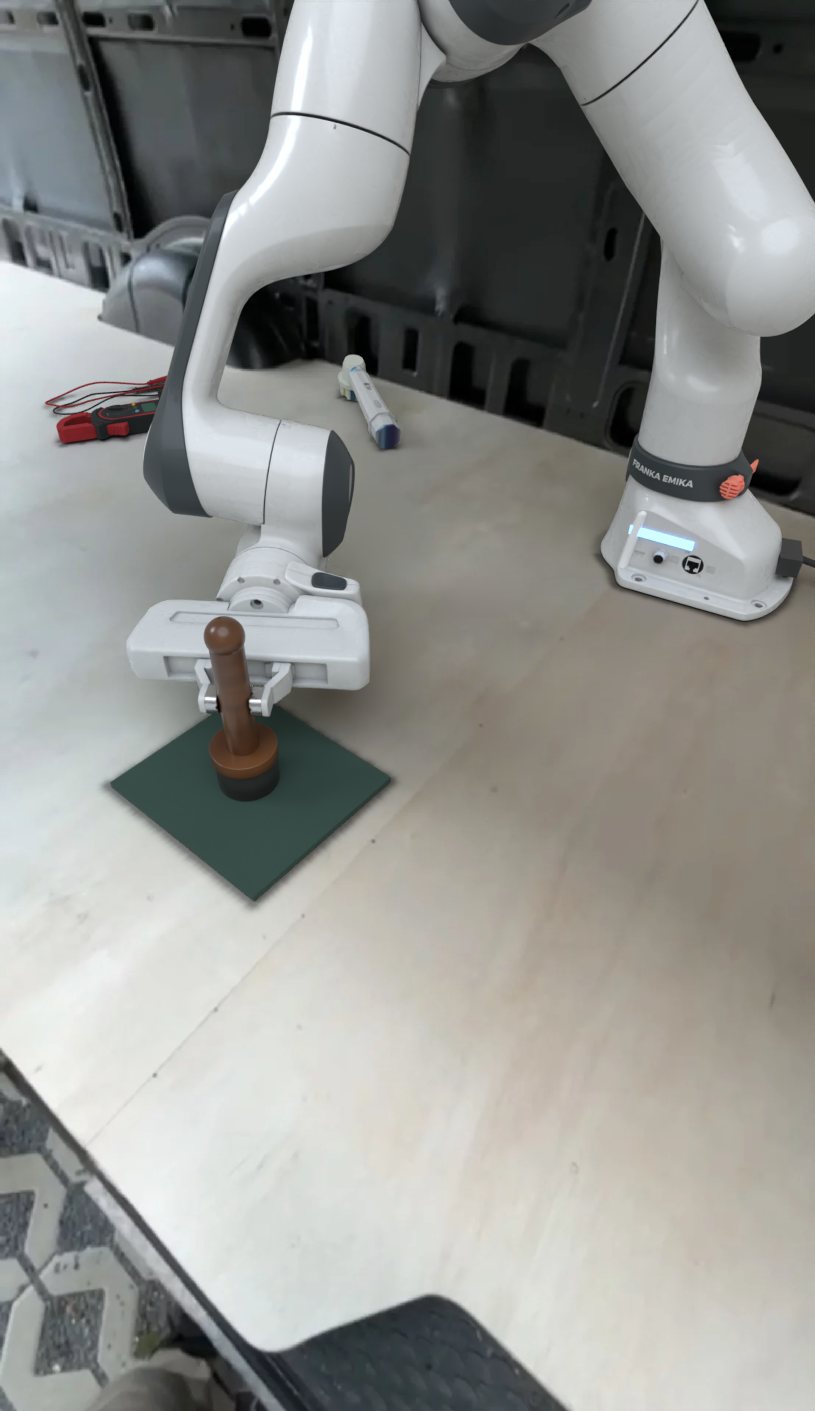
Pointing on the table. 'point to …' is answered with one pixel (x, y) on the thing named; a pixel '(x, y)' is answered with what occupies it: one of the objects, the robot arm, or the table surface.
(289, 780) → the mat
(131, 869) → the table surface
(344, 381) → the toothbrush head
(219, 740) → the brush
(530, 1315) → the table surface
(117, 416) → the digital clamp meter
